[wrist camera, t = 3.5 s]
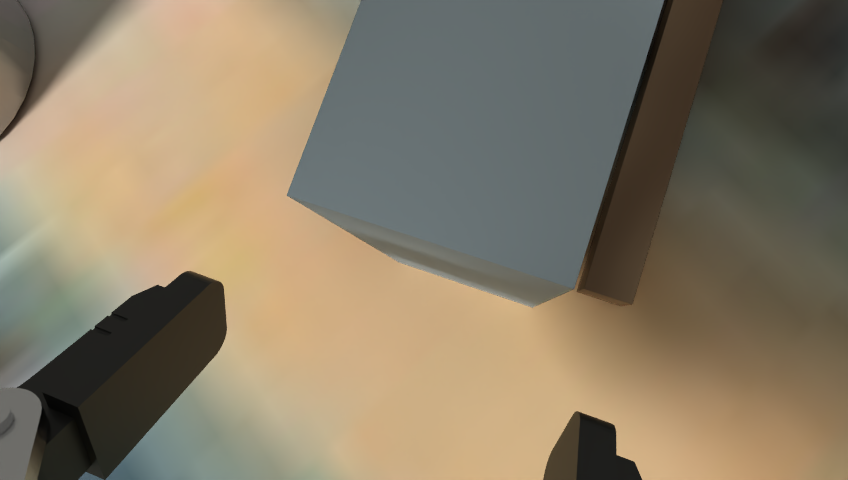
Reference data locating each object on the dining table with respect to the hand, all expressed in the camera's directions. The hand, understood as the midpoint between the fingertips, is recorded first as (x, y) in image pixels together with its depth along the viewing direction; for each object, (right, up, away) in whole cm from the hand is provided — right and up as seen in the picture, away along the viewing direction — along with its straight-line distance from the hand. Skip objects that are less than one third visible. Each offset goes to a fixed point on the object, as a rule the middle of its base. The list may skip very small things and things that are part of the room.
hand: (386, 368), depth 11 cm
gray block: (+3, +4, +7) cm, 9 cm away
